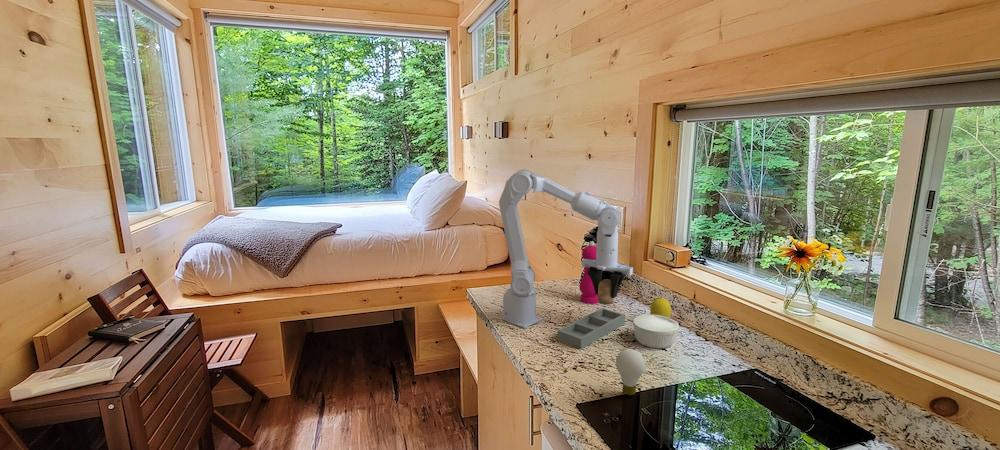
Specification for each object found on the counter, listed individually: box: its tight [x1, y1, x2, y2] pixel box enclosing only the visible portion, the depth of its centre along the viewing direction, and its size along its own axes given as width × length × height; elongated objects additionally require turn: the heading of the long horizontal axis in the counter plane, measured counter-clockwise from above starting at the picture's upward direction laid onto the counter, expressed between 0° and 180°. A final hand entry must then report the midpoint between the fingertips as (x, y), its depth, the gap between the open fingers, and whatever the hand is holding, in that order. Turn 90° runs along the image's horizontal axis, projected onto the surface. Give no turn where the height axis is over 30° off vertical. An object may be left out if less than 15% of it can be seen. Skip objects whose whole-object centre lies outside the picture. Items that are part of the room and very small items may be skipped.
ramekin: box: [632, 314, 680, 349], centre depth 118 cm, size 11×11×5 cm
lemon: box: [649, 296, 672, 319], centre depth 128 cm, size 6×6×8 cm
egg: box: [597, 278, 615, 305], centre depth 127 cm, size 4×4×7 cm
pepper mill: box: [578, 240, 599, 305], centre depth 146 cm, size 7×7×20 cm
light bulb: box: [615, 348, 646, 396], centre depth 94 cm, size 6×6×10 cm
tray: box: [556, 307, 626, 350], centre depth 124 cm, size 8×21×3 cm, turn 134°
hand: (605, 295), depth 127 cm, fingers closed on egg, 4 cm apart
